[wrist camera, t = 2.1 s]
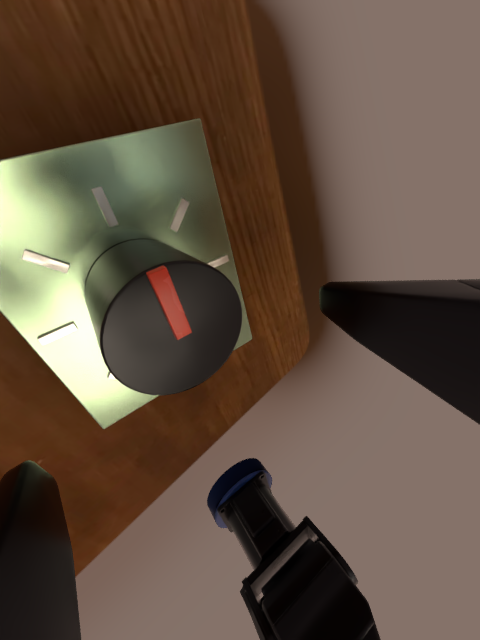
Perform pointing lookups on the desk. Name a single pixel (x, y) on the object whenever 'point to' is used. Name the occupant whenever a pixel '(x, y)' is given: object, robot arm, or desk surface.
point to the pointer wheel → (161, 316)
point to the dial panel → (101, 241)
